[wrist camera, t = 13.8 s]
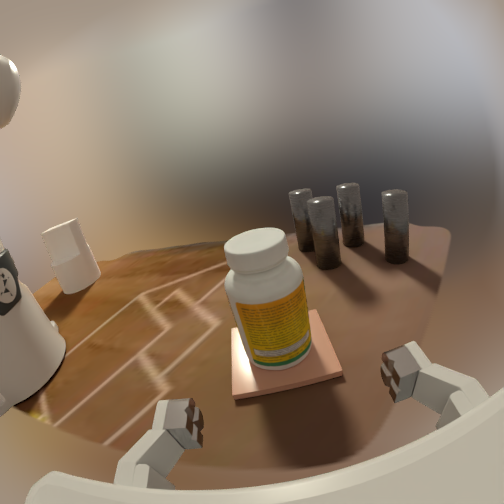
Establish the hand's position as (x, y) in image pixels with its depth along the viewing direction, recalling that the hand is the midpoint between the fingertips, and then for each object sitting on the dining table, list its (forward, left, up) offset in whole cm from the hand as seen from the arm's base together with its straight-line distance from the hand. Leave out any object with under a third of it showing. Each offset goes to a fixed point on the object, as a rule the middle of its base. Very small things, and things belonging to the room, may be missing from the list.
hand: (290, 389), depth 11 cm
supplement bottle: (0, +10, -7) cm, 12 cm away
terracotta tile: (0, +10, -7) cm, 12 cm away
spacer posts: (+11, +24, -7) cm, 28 cm away
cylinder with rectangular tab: (-35, +37, -7) cm, 51 cm away
